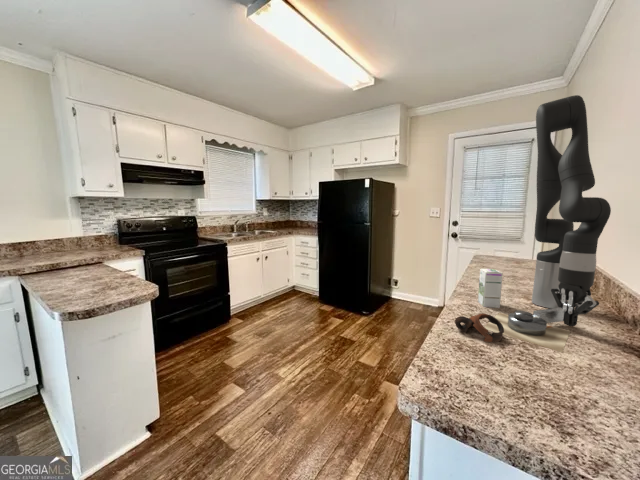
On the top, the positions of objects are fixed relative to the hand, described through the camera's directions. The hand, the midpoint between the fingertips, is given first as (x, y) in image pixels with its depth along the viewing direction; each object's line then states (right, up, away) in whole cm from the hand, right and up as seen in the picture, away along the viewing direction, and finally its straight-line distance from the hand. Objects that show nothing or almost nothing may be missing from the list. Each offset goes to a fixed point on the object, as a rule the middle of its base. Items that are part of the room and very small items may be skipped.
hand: (569, 325), depth 80 cm
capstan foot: (-7, -1, +2) cm, 7 cm away
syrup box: (-11, -1, +21) cm, 24 cm away
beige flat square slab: (-13, -3, +1) cm, 13 cm away
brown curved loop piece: (-29, -3, -2) cm, 29 cm away
